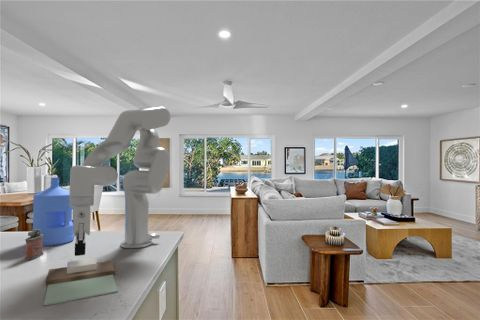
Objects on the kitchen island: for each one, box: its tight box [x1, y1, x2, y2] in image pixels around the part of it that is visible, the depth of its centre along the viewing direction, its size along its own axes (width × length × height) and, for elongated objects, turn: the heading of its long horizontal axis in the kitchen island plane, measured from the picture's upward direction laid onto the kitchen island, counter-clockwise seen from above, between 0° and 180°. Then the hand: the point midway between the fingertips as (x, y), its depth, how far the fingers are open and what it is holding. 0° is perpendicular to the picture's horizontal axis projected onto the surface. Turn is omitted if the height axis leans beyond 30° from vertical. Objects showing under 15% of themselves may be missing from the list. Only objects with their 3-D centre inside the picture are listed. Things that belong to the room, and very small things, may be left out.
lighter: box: [25, 229, 44, 262], centre depth 109 cm, size 8×3×10 cm, turn 5°
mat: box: [43, 274, 119, 307], centre depth 82 cm, size 17×13×1 cm
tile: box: [66, 257, 97, 274], centre depth 94 cm, size 8×6×2 cm
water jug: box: [32, 177, 76, 247], centre depth 130 cm, size 16×16×28 cm
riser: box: [45, 260, 116, 287], centre depth 92 cm, size 18×10×2 cm, turn 119°
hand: (79, 254), depth 102 cm, fingers closed
